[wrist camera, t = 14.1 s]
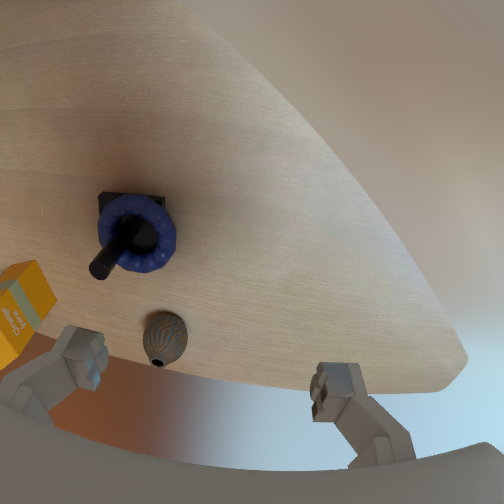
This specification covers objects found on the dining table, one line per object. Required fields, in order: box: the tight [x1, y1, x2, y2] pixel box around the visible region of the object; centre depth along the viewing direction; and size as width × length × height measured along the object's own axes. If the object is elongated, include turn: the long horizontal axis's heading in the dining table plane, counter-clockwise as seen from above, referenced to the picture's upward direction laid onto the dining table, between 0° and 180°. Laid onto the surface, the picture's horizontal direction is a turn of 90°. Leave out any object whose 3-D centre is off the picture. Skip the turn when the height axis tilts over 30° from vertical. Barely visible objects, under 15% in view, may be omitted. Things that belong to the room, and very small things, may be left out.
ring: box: [98, 194, 176, 273], centre depth 38 cm, size 11×11×2 cm
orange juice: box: [0, 260, 57, 370], centre depth 38 cm, size 8×9×20 cm
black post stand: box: [89, 191, 165, 280], centre depth 36 cm, size 9×9×12 cm
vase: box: [143, 314, 188, 369], centre depth 45 cm, size 7×7×9 cm
